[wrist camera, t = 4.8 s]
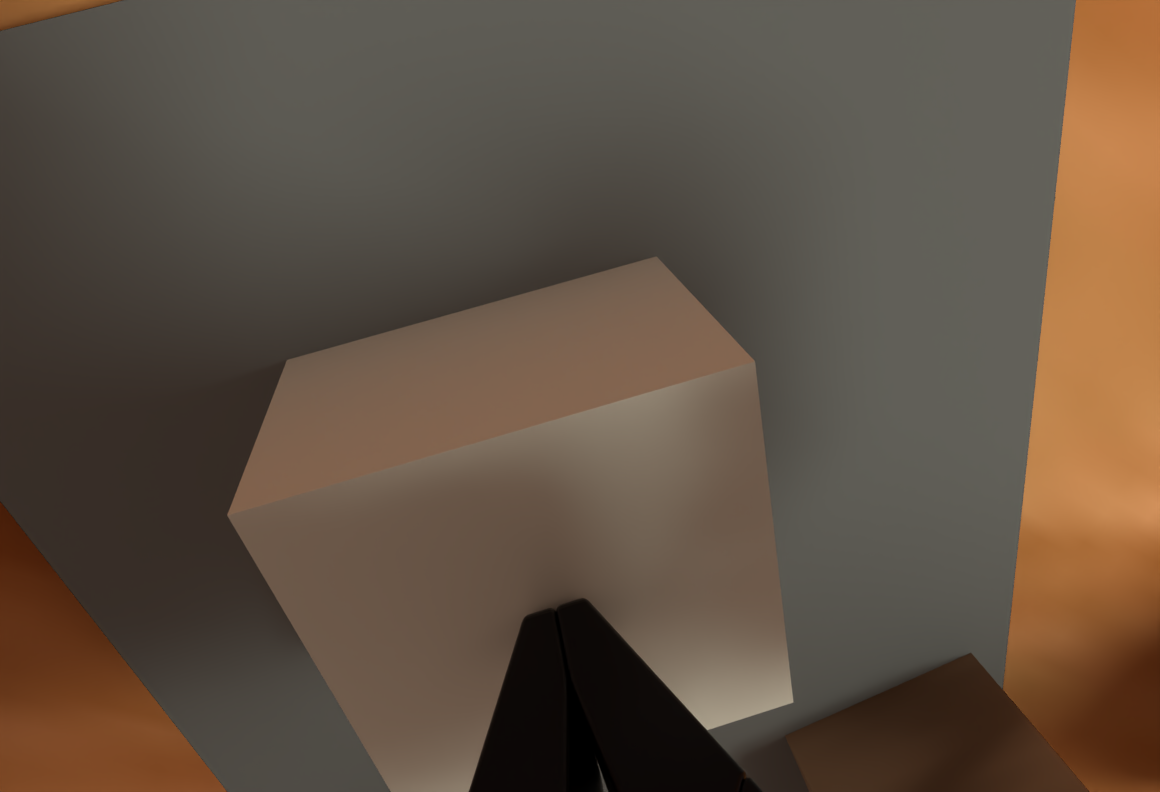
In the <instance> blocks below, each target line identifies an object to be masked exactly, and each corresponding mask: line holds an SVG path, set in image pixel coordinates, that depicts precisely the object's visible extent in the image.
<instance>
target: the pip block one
mask: <svg viewBox="0 0 1160 792" xmlns="http://www.w3.org/2000/svg"><path fill="white" fill-rule="evenodd" d="M785 737H786V740H787V742H788V744H789V746H790V749H791V751H792V753H793V756H794V758H795V760H796V763H797V765H798V767H799V770H800V772H801V774H802V776H803V779H804V781H805V783H806V786H807V788H808V790H809V792H1089V791H1088V790H1087V788H1086V787H1085V786H1084V785H1083V784H1082V783H1081V781H1080V780H1079V779H1078V778H1077V777H1076V775H1075V774H1074V773H1073V772H1072V771H1071V770H1070V768H1069V767H1068V766H1067V765H1066V764H1065V763H1064V761H1063V760H1062V759H1061V758H1060V757H1059V755H1058V754H1057V753H1056V752H1055V751H1054V750H1053V748H1052V747H1051V746H1050V745H1049V744H1048V743H1047V741H1046V740H1045V739H1044V738H1043V737H1042V735H1041V734H1040V733H1039V732H1038V731H1037V730H1036V728H1035V727H1034V726H1033V725H1032V724H1031V723H1030V721H1029V720H1028V719H1027V718H1026V717H1025V715H1024V714H1023V713H1022V712H1021V711H1020V710H1019V708H1018V707H1017V706H1016V705H1015V704H1014V703H1013V701H1012V700H1011V699H1010V698H1009V697H1008V695H1007V694H1006V693H1005V692H1004V691H1003V690H1002V688H1001V687H1000V686H999V685H998V684H997V683H996V681H995V680H994V679H993V678H992V677H991V675H990V674H989V673H988V672H987V671H986V670H985V668H984V667H983V666H982V665H981V664H980V663H979V661H978V660H977V659H976V658H975V657H974V655H973V654H972V653H969V654H967V655H965V656H963V657H960V658H958V659H956V660H954V661H951V662H949V663H947V664H945V665H942V666H940V667H938V668H936V669H934V670H931V671H929V672H927V673H925V674H922V675H920V676H918V677H916V678H913V679H911V680H909V681H907V682H904V683H902V684H900V685H898V686H895V687H893V688H891V689H889V690H886V691H884V692H882V693H880V694H877V695H875V696H873V697H871V698H868V699H866V700H864V701H862V702H859V703H857V704H855V705H853V706H850V707H848V708H846V709H844V710H841V711H839V712H837V713H835V714H832V715H830V716H828V717H826V718H823V719H821V720H819V721H817V722H815V723H812V724H810V725H808V726H806V727H803V728H801V729H799V730H797V731H794V732H792V733H790V734H788V735H785Z"/></svg>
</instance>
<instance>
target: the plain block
mask: <svg viewBox="0 0 1160 792" xmlns="http://www.w3.org/2000/svg"><path fill="white" fill-rule="evenodd" d="M227 516H228V518H229V519H230V521H231V523H232V524H233V526H234V528H235V529H236V531H237V533H238V535H239V536H240V538H241V540H242V541H243V543H244V545H245V546H246V548H247V550H248V551H249V553H250V555H251V556H252V558H253V560H254V562H255V563H256V565H257V567H258V568H259V570H260V572H261V573H262V575H263V577H264V578H265V580H266V582H267V584H268V585H269V587H270V589H271V590H272V592H273V594H274V595H275V597H276V599H277V600H278V602H279V604H280V605H281V607H282V609H283V611H284V612H285V614H286V616H287V617H288V619H289V621H290V622H291V624H292V626H293V627H294V629H295V631H296V632H297V634H298V636H299V638H300V639H301V641H302V643H303V644H304V646H305V648H306V649H307V651H308V653H309V654H310V656H311V658H312V660H313V661H314V663H315V665H316V666H317V668H318V670H319V671H320V673H321V675H322V676H323V678H324V680H325V681H326V683H327V685H328V687H329V688H330V690H331V692H332V693H333V695H334V697H335V698H336V700H337V702H338V703H339V705H340V707H341V708H342V710H343V712H344V714H345V715H346V717H347V719H348V720H349V722H350V724H351V725H352V727H353V729H354V730H355V732H356V734H357V736H358V737H359V739H360V741H361V742H362V744H363V746H364V747H365V749H366V751H367V752H368V754H369V756H370V757H371V759H372V761H373V763H374V764H375V766H376V768H377V769H378V771H379V773H380V774H381V776H382V778H383V779H384V781H385V783H386V784H387V786H388V788H389V790H390V791H391V792H469V789H470V786H471V783H472V779H473V776H474V773H475V770H476V767H477V763H478V760H479V757H480V754H481V751H482V748H483V744H484V741H485V738H486V735H487V732H488V728H489V725H490V722H491V719H492V716H493V712H494V709H495V706H496V703H497V700H498V696H499V693H500V690H501V687H502V684H503V680H504V677H505V674H506V671H507V668H508V665H509V661H510V658H511V655H512V652H513V649H514V645H515V642H516V639H517V636H518V633H519V629H520V626H521V623H522V620H523V618H524V617H525V616H526V615H528V614H531V613H535V612H538V611H541V610H544V609H547V608H553V609H554V610H555V611H556V609H557V607H558V606H559V605H561V604H564V603H567V602H570V601H573V600H577V599H580V598H585V599H587V600H589V601H590V602H591V603H592V605H593V606H594V607H595V608H596V609H597V610H598V611H599V612H600V613H601V614H602V616H603V617H604V618H605V619H606V620H607V621H608V622H609V623H610V624H611V625H612V626H613V628H614V629H615V630H616V631H617V632H618V633H619V634H620V635H621V636H622V637H623V639H624V640H625V641H626V642H627V643H628V644H629V645H630V646H631V647H632V648H633V649H634V651H635V652H636V653H637V654H638V655H639V656H640V657H641V658H642V659H643V660H644V662H645V663H646V664H647V665H648V666H649V667H650V668H651V669H652V670H653V671H654V672H655V674H656V675H657V676H658V677H659V678H660V679H661V680H662V681H663V682H664V683H665V685H666V686H667V687H668V688H669V689H670V690H671V691H672V692H673V693H674V694H675V696H676V697H677V698H678V699H679V700H680V701H681V702H682V703H683V704H684V705H685V706H686V708H687V709H688V710H689V711H690V712H691V713H692V714H693V715H694V716H695V717H696V719H697V720H698V721H699V722H700V723H701V724H702V725H703V726H704V727H705V728H706V729H707V730H709V729H713V728H716V727H719V726H722V725H725V724H728V723H731V722H734V721H737V720H741V719H744V718H747V717H750V716H753V715H756V714H759V713H762V712H765V711H769V710H772V709H775V708H778V707H781V706H784V705H787V704H790V703H793V694H792V685H791V676H790V667H789V658H788V650H787V641H786V632H785V623H784V614H783V605H782V596H781V587H780V579H779V570H778V561H777V552H776V543H775V534H774V525H773V516H772V507H771V499H770V490H769V481H768V472H767V463H766V454H765V445H764V436H763V428H762V419H761V410H760V401H759V392H758V383H757V374H756V365H755V361H754V360H753V359H752V358H751V357H750V355H749V354H748V353H747V352H746V351H745V350H744V349H743V348H742V347H741V346H740V345H739V344H738V343H737V342H736V341H735V339H734V338H733V337H732V336H731V335H730V334H729V333H728V332H727V331H726V330H725V329H724V328H723V327H722V326H721V325H720V323H719V322H718V321H717V320H716V319H715V318H714V317H713V316H712V315H711V314H710V313H709V312H708V311H707V310H706V309H705V308H704V306H703V305H702V304H701V303H700V302H699V301H698V300H697V299H696V298H695V297H694V296H693V295H692V294H691V293H690V292H689V290H688V289H687V288H686V287H685V286H684V285H683V284H682V283H681V282H680V281H679V280H678V279H677V278H676V277H675V276H674V274H673V273H672V272H671V271H670V270H669V269H668V268H667V267H666V266H665V265H664V264H663V263H662V262H661V261H660V260H659V258H658V257H657V256H656V257H652V258H649V259H645V260H641V261H638V262H634V263H631V264H627V265H624V266H620V267H616V268H613V269H609V270H606V271H602V272H599V273H595V274H592V275H588V276H584V277H581V278H577V279H574V280H570V281H567V282H563V283H559V284H556V285H552V286H549V287H545V288H542V289H538V290H535V291H531V292H527V293H524V294H520V295H517V296H513V297H510V298H506V299H502V300H499V301H495V302H492V303H488V304H485V305H481V306H478V307H474V308H470V309H467V310H463V311H460V312H456V313H453V314H449V315H445V316H442V317H438V318H435V319H431V320H428V321H424V322H420V323H417V324H413V325H410V326H406V327H403V328H399V329H396V330H392V331H388V332H385V333H381V334H378V335H374V336H371V337H367V338H363V339H360V340H356V341H353V342H349V343H346V344H342V345H339V346H335V347H331V348H328V349H324V350H321V351H317V352H314V353H310V354H306V355H303V356H299V357H296V358H292V359H289V360H287V361H286V364H285V366H284V369H283V372H282V374H281V377H280V379H279V382H278V385H277V387H276V390H275V392H274V395H273V398H272V400H271V403H270V405H269V408H268V411H267V413H266V416H265V418H264V421H263V424H262V426H261V429H260V431H259V434H258V437H257V439H256V442H255V444H254V447H253V450H252V452H251V455H250V457H249V460H248V463H247V465H246V468H245V470H244V473H243V475H242V478H241V481H240V483H239V486H238V488H237V491H236V494H235V496H234V499H233V501H232V504H231V507H230V509H229V512H228V514H227Z"/></svg>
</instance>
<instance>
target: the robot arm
mask: <svg viewBox="0 0 1160 792" xmlns="http://www.w3.org/2000/svg"><path fill="white" fill-rule="evenodd" d="M599 767H600V769H599ZM600 770H601V773H602V776H603V779H604V782H605V785H606V787H607V790H608V792H764V791H763V790H762V789H761V788H760V787H759V786H758V785H757V784H756V783H755V782H754V780H753V779H752V778H750V777H747V776H746V773H745V771H744V770H743V769H742V768H741V767H740V766H739V765H738V763H737V762H736V761H735V760H734V759H733V758H732V757H731V756H730V755H729V754H728V752H727V751H726V750H725V749H724V748H723V747H722V746H721V745H720V744H719V743H718V742H717V740H716V739H715V738H714V737H713V736H712V735H711V734H710V733H709V732H708V731H707V729H706V728H705V727H704V726H703V725H702V724H701V723H700V722H699V721H698V720H697V719H696V717H695V716H694V715H693V714H692V713H691V712H690V711H689V710H688V709H687V708H686V706H685V705H684V704H683V703H682V702H681V701H680V700H679V699H678V698H677V697H676V696H675V694H674V693H673V692H672V691H671V690H670V689H669V688H668V687H667V686H666V685H665V683H664V682H663V681H662V680H661V679H660V678H659V677H658V676H657V675H656V674H655V672H654V671H653V670H652V669H651V668H650V667H649V666H648V665H647V664H646V663H645V662H644V660H643V659H642V658H641V657H640V656H639V655H638V654H637V653H636V652H635V651H634V649H633V648H632V647H631V646H630V645H629V644H628V643H627V642H626V641H625V640H624V639H623V637H622V636H621V635H620V634H619V633H618V632H617V631H616V630H615V629H614V628H613V626H612V625H611V624H610V623H609V622H608V621H607V620H606V619H605V618H604V617H603V616H602V614H601V613H600V612H599V611H598V610H597V609H596V608H595V607H594V606H593V605H592V603H591V602H590V601H589V600H587V599H585V598H580V599H577V600H573V601H570V602H567V603H564V604H561V605H559V606H558V607H557V609H556V611H555V610H554V609H553V608H547V609H544V610H541V611H538V612H535V613H531V614H528V615H526V616H525V617H524V618H523V620H522V623H521V626H520V629H519V633H518V636H517V639H516V642H515V645H514V649H513V652H512V655H511V658H510V661H509V665H508V668H507V671H506V674H505V677H504V680H503V684H502V687H501V690H500V693H499V696H498V700H497V703H496V706H495V709H494V712H493V716H492V719H491V722H490V725H489V728H488V732H487V735H486V738H485V741H484V744H483V748H482V751H481V754H480V757H479V760H478V763H477V767H476V770H475V773H474V776H473V779H472V783H471V786H470V789H469V792H604V790H603V784H602V778H601V773H600Z"/></svg>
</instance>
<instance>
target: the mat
mask: <svg viewBox="0 0 1160 792" xmlns="http://www.w3.org/2000/svg"><path fill="white" fill-rule="evenodd" d="M1075 3H1076V0H123V1H119V2H115V3H111V4H107V5H103V6H99V7H95V8H91V9H87V10H83V11H79V12H75V13H71V14H67V15H63V16H59V17H55V18H51V19H47V20H43V21H38V22H34V23H30V24H26V25H22V26H18V27H14V28H10V29H6V30H2V31H0V501H1V503H2V504H3V505H4V507H5V508H6V509H7V510H8V512H9V513H10V514H11V516H12V517H13V518H14V519H15V521H16V522H17V523H18V525H19V526H20V527H21V528H22V530H23V531H24V532H25V533H26V535H27V536H28V537H29V539H30V540H31V541H32V542H33V544H34V545H35V546H36V548H37V549H38V550H39V551H40V553H41V554H42V555H43V556H44V558H45V559H46V560H47V562H48V563H49V564H50V565H51V567H52V568H53V569H54V571H55V572H56V573H57V574H58V576H59V577H60V578H61V580H62V581H63V582H64V583H65V585H66V586H67V587H68V588H69V590H70V591H71V592H72V594H73V595H74V596H75V597H76V599H77V600H78V601H79V603H80V604H81V605H82V606H83V608H84V609H85V610H86V611H87V613H88V614H89V615H90V617H91V618H92V619H93V620H94V622H95V623H96V624H97V626H98V627H99V628H100V629H101V631H102V632H103V633H104V635H105V636H106V637H107V638H108V640H109V641H110V642H111V643H112V645H113V646H114V647H115V649H116V650H117V651H118V652H119V654H120V655H121V656H122V658H123V659H124V660H125V661H126V663H127V664H128V665H129V666H130V668H131V669H132V670H133V672H134V673H135V674H136V675H137V677H138V678H139V679H140V681H141V682H142V683H143V684H144V686H145V687H146V688H147V690H148V691H149V692H150V693H151V695H152V696H153V697H154V698H155V700H156V701H157V702H158V704H159V705H160V706H161V707H162V709H163V710H164V711H165V713H166V714H167V715H168V716H169V718H170V719H171V720H172V721H173V723H174V724H175V725H176V727H177V728H178V729H179V730H180V732H181V733H182V734H183V736H184V737H185V738H186V739H187V741H188V742H189V743H190V745H191V746H192V747H193V748H194V750H195V751H196V752H197V753H198V755H199V756H200V757H201V759H202V760H203V761H204V762H205V764H206V765H207V766H208V768H209V769H210V770H211V771H212V773H213V774H214V775H215V776H216V778H217V779H218V780H219V782H220V783H221V784H222V785H223V787H224V788H225V789H226V791H227V792H391V791H390V790H389V788H388V786H387V784H386V783H385V781H384V779H383V778H382V776H381V774H380V773H379V771H378V769H377V768H376V766H375V764H374V763H373V761H372V759H371V757H370V756H369V754H368V752H367V751H366V749H365V747H364V746H363V744H362V742H361V741H360V739H359V737H358V736H357V734H356V732H355V730H354V729H353V727H352V725H351V724H350V722H349V720H348V719H347V717H346V715H345V714H344V712H343V710H342V708H341V707H340V705H339V703H338V702H337V700H336V698H335V697H334V695H333V693H332V692H331V690H330V688H329V687H328V685H327V683H326V681H325V680H324V678H323V676H322V675H321V673H320V671H319V670H318V668H317V666H316V665H315V663H314V661H313V660H312V658H311V656H310V654H309V653H308V651H307V649H306V648H305V646H304V644H303V643H302V641H301V639H300V638H299V636H298V634H297V632H296V631H295V629H294V627H293V626H292V624H291V622H290V621H289V619H288V617H287V616H286V614H285V612H284V611H283V609H282V607H281V605H280V604H279V602H278V600H277V599H276V597H275V595H274V594H273V592H272V590H271V589H270V587H269V585H268V584H267V582H266V580H265V578H264V577H263V575H262V573H261V572H260V570H259V568H258V567H257V565H256V563H255V562H254V560H253V558H252V556H251V555H250V553H249V551H248V550H247V548H246V546H245V545H244V543H243V541H242V540H241V538H240V536H239V535H238V533H237V531H236V529H235V528H234V526H233V524H232V523H231V521H230V519H229V518H228V516H227V514H228V512H229V509H230V507H231V504H232V501H233V499H234V496H235V494H236V491H237V488H238V486H239V483H240V481H241V478H242V475H243V473H244V470H245V468H246V465H247V463H248V460H249V457H250V455H251V452H252V450H253V447H254V444H255V442H256V439H257V437H258V434H259V431H260V429H261V426H262V424H263V421H264V418H265V416H266V413H267V411H268V408H269V405H270V403H271V400H272V398H273V395H274V392H275V390H276V387H277V385H278V382H279V379H280V377H281V374H282V372H283V369H284V366H285V364H286V361H287V360H289V359H292V358H296V357H299V356H303V355H306V354H310V353H314V352H317V351H321V350H324V349H328V348H331V347H335V346H339V345H342V344H346V343H349V342H353V341H356V340H360V339H363V338H367V337H371V336H374V335H378V334H381V333H385V332H388V331H392V330H396V329H399V328H403V327H406V326H410V325H413V324H417V323H420V322H424V321H428V320H431V319H435V318H438V317H442V316H445V315H449V314H453V313H456V312H460V311H463V310H467V309H470V308H474V307H478V306H481V305H485V304H488V303H492V302H495V301H499V300H502V299H506V298H510V297H513V296H517V295H520V294H524V293H527V292H531V291H535V290H538V289H542V288H545V287H549V286H552V285H556V284H559V283H563V282H567V281H570V280H574V279H577V278H581V277H584V276H588V275H592V274H595V273H599V272H602V271H606V270H609V269H613V268H616V267H620V266H624V265H627V264H631V263H634V262H638V261H641V260H645V259H649V258H652V257H656V256H657V257H658V258H659V260H660V261H661V262H662V263H663V264H664V265H665V266H666V267H667V268H668V269H669V270H670V271H671V272H672V273H673V274H674V276H675V277H676V278H677V279H678V280H679V281H680V282H681V283H682V284H683V285H684V286H685V287H686V288H687V289H688V290H689V292H690V293H691V294H692V295H693V296H694V297H695V298H696V299H697V300H698V301H699V302H700V303H701V304H702V305H703V306H704V308H705V309H706V310H707V311H708V312H709V313H710V314H711V315H712V316H713V317H714V318H715V319H716V320H717V321H718V322H719V323H720V325H721V326H722V327H723V328H724V329H725V330H726V331H727V332H728V333H729V334H730V335H731V336H732V337H733V338H734V339H735V341H736V342H737V343H738V344H739V345H740V346H741V347H742V348H743V349H744V350H745V351H746V352H747V353H748V354H749V355H750V357H751V358H752V359H753V360H754V361H755V365H756V374H757V383H758V392H759V401H760V410H761V419H762V428H763V436H764V445H765V454H766V463H767V472H768V481H769V490H770V499H771V507H772V516H773V525H774V534H775V543H776V552H777V561H778V570H779V579H780V587H781V596H782V605H783V614H784V623H785V632H786V641H787V650H788V658H789V667H790V676H791V685H792V694H793V703H790V704H787V705H784V706H781V707H778V708H775V709H772V710H769V711H765V712H762V713H759V714H756V715H753V716H750V717H747V718H744V719H741V720H737V721H734V722H731V723H728V724H725V725H722V726H719V727H716V728H713V729H709V730H707V731H708V732H709V733H710V734H711V735H712V736H713V737H714V738H715V739H716V740H717V742H718V743H719V744H720V745H721V746H722V747H723V748H724V749H725V750H726V751H727V752H728V754H729V755H730V756H731V757H732V758H733V759H734V760H735V761H736V762H737V763H738V765H739V766H740V767H741V768H742V769H743V770H744V771H745V773H746V776H747V777H750V778H752V779H753V780H754V782H755V783H756V784H757V785H758V786H759V787H760V788H761V789H762V790H763V791H764V792H809V790H808V788H807V786H806V783H805V781H804V779H803V776H802V774H801V772H800V770H799V767H798V765H797V763H796V760H795V758H794V756H793V753H792V751H791V749H790V746H789V744H788V742H787V740H786V737H785V735H788V734H790V733H792V732H794V731H797V730H799V729H801V728H803V727H806V726H808V725H810V724H812V723H815V722H817V721H819V720H821V719H823V718H826V717H828V716H830V715H832V714H835V713H837V712H839V711H841V710H844V709H846V708H848V707H850V706H853V705H855V704H857V703H859V702H862V701H864V700H866V699H868V698H871V697H873V696H875V695H877V694H880V693H882V692H884V691H886V690H889V689H891V688H893V687H895V686H898V685H900V684H902V683H904V682H907V681H909V680H911V679H913V678H916V677H918V676H920V675H922V674H925V673H927V672H929V671H931V670H934V669H936V668H938V667H940V666H942V665H945V664H947V663H949V662H951V661H954V660H956V659H958V658H960V657H963V656H965V655H967V654H969V653H972V654H973V655H974V657H975V658H976V659H977V660H978V661H979V663H980V664H981V665H982V666H983V667H984V668H985V670H986V671H987V672H988V673H989V674H990V675H991V677H992V678H993V679H994V680H995V681H996V683H997V684H998V685H999V686H1000V687H1001V688H1002V690H1003V682H1004V672H1005V663H1006V653H1007V644H1008V635H1009V625H1010V616H1011V606H1012V597H1013V587H1014V578H1015V569H1016V559H1017V550H1018V540H1019V531H1020V521H1021V512H1022V503H1023V493H1024V484H1025V474H1026V465H1027V455H1028V446H1029V437H1030V427H1031V418H1032V408H1033V399H1034V390H1035V380H1036V371H1037V361H1038V352H1039V342H1040V333H1041V324H1042V314H1043V305H1044V295H1045V286H1046V276H1047V267H1048V258H1049V248H1050V239H1051V229H1052V220H1053V210H1054V201H1055V192H1056V182H1057V173H1058V163H1059V154H1060V145H1061V135H1062V126H1063V116H1064V107H1065V97H1066V88H1067V79H1068V69H1069V60H1070V50H1071V41H1072V31H1073V22H1074V13H1075ZM599 769H600V767H599ZM600 773H601V770H600ZM601 778H602V784H603V790H604V792H608V790H607V787H606V785H605V782H604V779H603V776H602V773H601Z"/></svg>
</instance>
